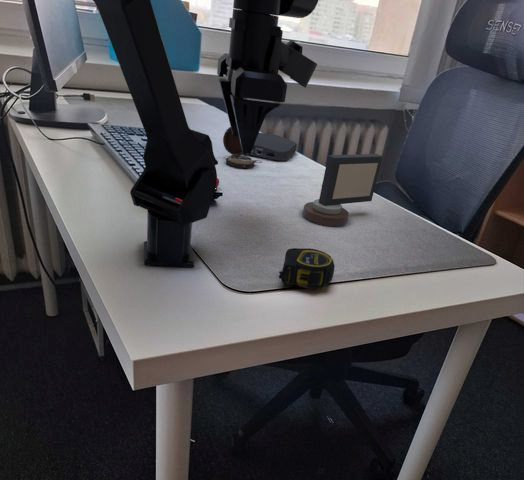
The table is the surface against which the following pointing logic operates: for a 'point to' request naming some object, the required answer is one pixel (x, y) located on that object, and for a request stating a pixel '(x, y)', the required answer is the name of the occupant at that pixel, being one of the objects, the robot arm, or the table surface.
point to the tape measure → (307, 268)
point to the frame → (347, 181)
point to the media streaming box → (273, 147)
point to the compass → (236, 151)
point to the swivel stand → (325, 216)
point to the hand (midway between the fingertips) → (241, 144)
